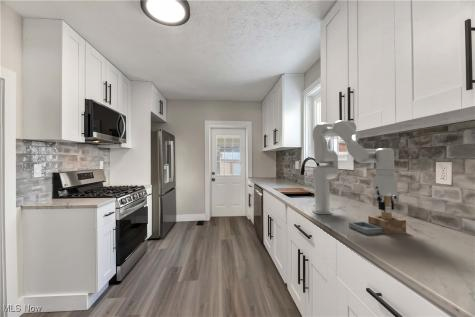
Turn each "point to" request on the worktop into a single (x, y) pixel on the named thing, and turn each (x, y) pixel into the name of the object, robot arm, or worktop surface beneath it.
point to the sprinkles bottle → (387, 208)
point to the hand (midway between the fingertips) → (386, 209)
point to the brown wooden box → (388, 224)
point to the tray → (366, 228)
